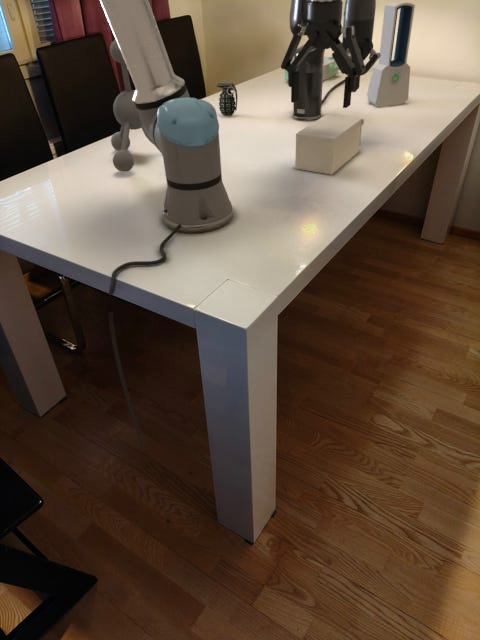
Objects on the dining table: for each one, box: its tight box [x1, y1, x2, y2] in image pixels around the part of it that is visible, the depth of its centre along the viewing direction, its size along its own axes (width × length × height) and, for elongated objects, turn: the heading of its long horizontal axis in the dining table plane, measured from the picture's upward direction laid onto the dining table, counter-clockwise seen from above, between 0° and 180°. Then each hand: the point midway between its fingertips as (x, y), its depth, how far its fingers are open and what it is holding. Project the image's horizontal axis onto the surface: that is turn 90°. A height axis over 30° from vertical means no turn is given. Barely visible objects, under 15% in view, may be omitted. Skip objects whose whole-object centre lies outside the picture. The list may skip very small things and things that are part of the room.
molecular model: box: [109, 38, 142, 173], centre depth 130 cm, size 24×22×30 cm
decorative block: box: [284, 56, 340, 82], centre depth 206 cm, size 26×6×20 cm
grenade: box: [215, 82, 238, 117], centre depth 166 cm, size 7×6×10 cm
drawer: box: [359, 118, 365, 147], centre depth 132 cm, size 22×9×7 cm, turn 148°
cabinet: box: [294, 114, 362, 176], centre depth 128 cm, size 18×10×9 cm, turn 148°
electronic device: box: [366, 0, 416, 108], centre depth 163 cm, size 12×8×30 cm, turn 105°
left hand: (320, 103), depth 118 cm, fingers open, 13 cm apart
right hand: (352, 91), depth 132 cm, fingers closed
